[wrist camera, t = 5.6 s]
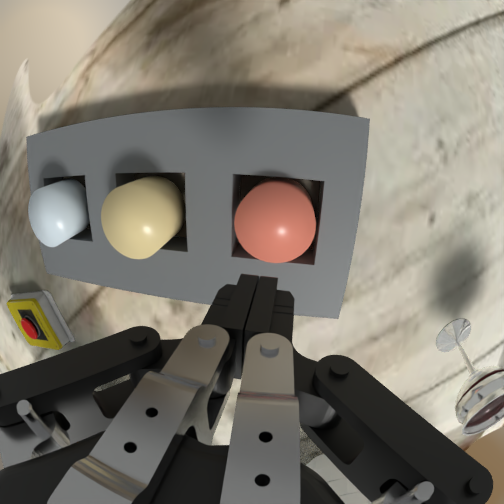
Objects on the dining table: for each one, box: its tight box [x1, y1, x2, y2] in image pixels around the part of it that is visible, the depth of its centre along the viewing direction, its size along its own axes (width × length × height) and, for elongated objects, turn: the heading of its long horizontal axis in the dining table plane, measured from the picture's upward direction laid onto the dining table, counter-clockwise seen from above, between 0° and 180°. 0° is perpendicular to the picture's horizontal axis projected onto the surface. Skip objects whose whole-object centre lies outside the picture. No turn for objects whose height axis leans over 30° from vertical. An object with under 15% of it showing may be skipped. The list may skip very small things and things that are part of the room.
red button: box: [234, 177, 316, 263], centre depth 21 cm, size 6×6×4 cm
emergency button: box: [7, 290, 75, 350], centre depth 34 cm, size 9×4×15 cm
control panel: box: [27, 107, 370, 319], centre depth 23 cm, size 32×16×3 cm, turn 88°
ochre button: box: [101, 175, 186, 259], centre depth 21 cm, size 6×6×4 cm
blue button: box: [28, 179, 90, 247], centre depth 22 cm, size 6×6×4 cm
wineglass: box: [436, 319, 504, 435], centre depth 20 cm, size 7×7×12 cm
